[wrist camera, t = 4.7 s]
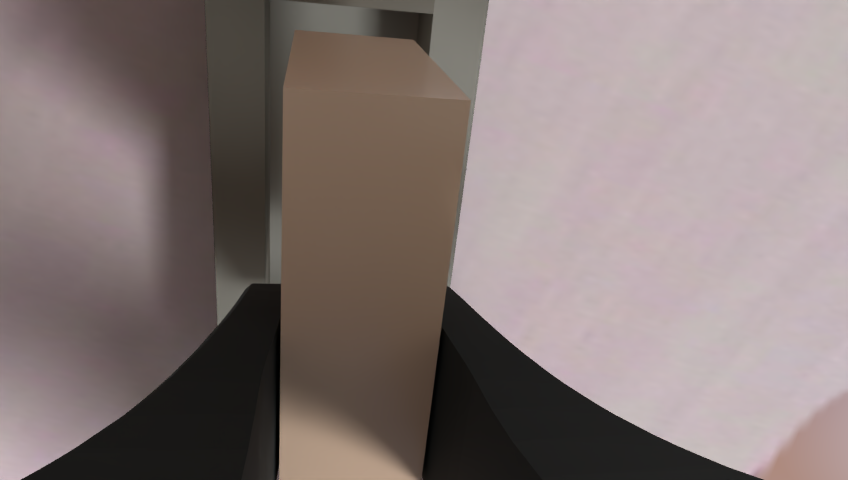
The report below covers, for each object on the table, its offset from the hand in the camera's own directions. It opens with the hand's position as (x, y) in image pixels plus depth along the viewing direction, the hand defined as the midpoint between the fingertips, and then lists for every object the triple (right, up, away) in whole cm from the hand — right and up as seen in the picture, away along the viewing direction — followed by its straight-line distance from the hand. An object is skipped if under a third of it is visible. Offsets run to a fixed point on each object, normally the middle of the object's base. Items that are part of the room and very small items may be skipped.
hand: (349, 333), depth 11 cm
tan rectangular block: (0, +2, +2) cm, 3 cm away
